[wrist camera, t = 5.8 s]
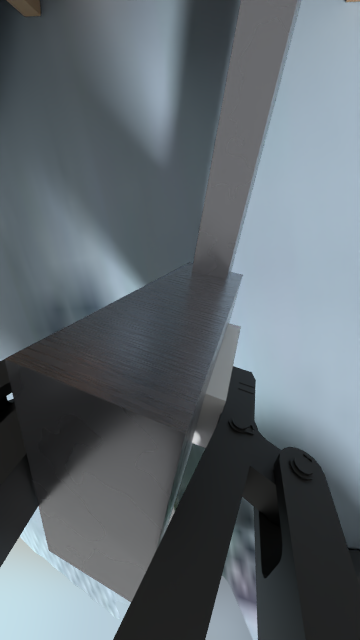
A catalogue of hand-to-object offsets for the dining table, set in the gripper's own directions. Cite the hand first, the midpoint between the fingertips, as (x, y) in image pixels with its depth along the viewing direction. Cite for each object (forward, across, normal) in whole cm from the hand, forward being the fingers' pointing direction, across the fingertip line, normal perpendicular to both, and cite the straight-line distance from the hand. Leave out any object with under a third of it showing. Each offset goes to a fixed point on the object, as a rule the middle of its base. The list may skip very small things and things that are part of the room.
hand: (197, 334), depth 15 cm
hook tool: (+2, +3, -7) cm, 7 cm away
